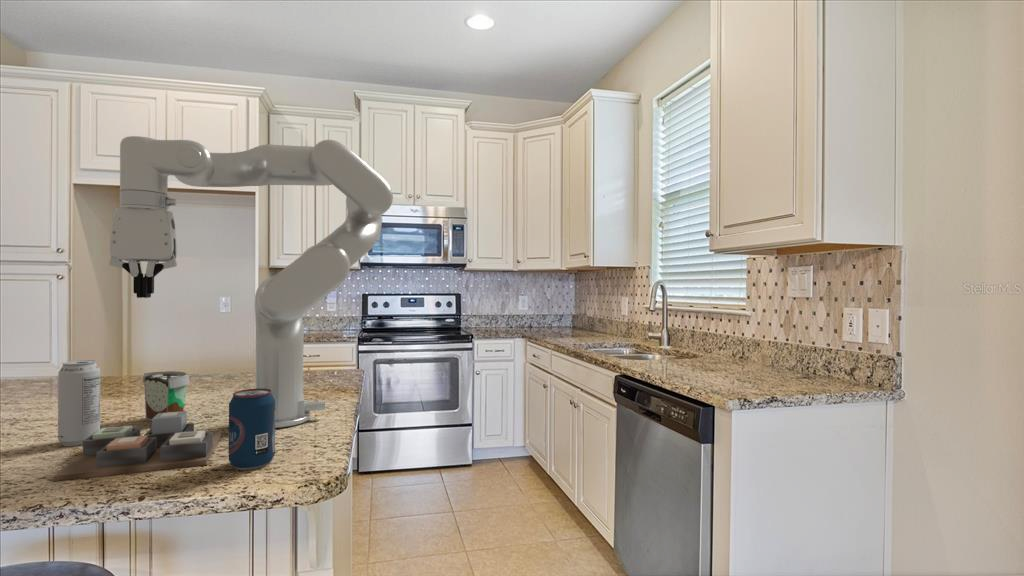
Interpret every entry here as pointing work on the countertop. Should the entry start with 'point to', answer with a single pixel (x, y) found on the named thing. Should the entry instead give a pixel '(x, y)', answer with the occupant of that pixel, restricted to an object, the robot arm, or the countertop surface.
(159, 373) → the food container
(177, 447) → the keypad
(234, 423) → the soda can
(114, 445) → the terracotta key
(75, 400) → the energy drink can
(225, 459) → the countertop surface
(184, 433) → the ivory key
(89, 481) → the countertop surface
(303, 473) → the countertop surface
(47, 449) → the countertop surface
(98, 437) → the sage key
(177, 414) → the slate key
